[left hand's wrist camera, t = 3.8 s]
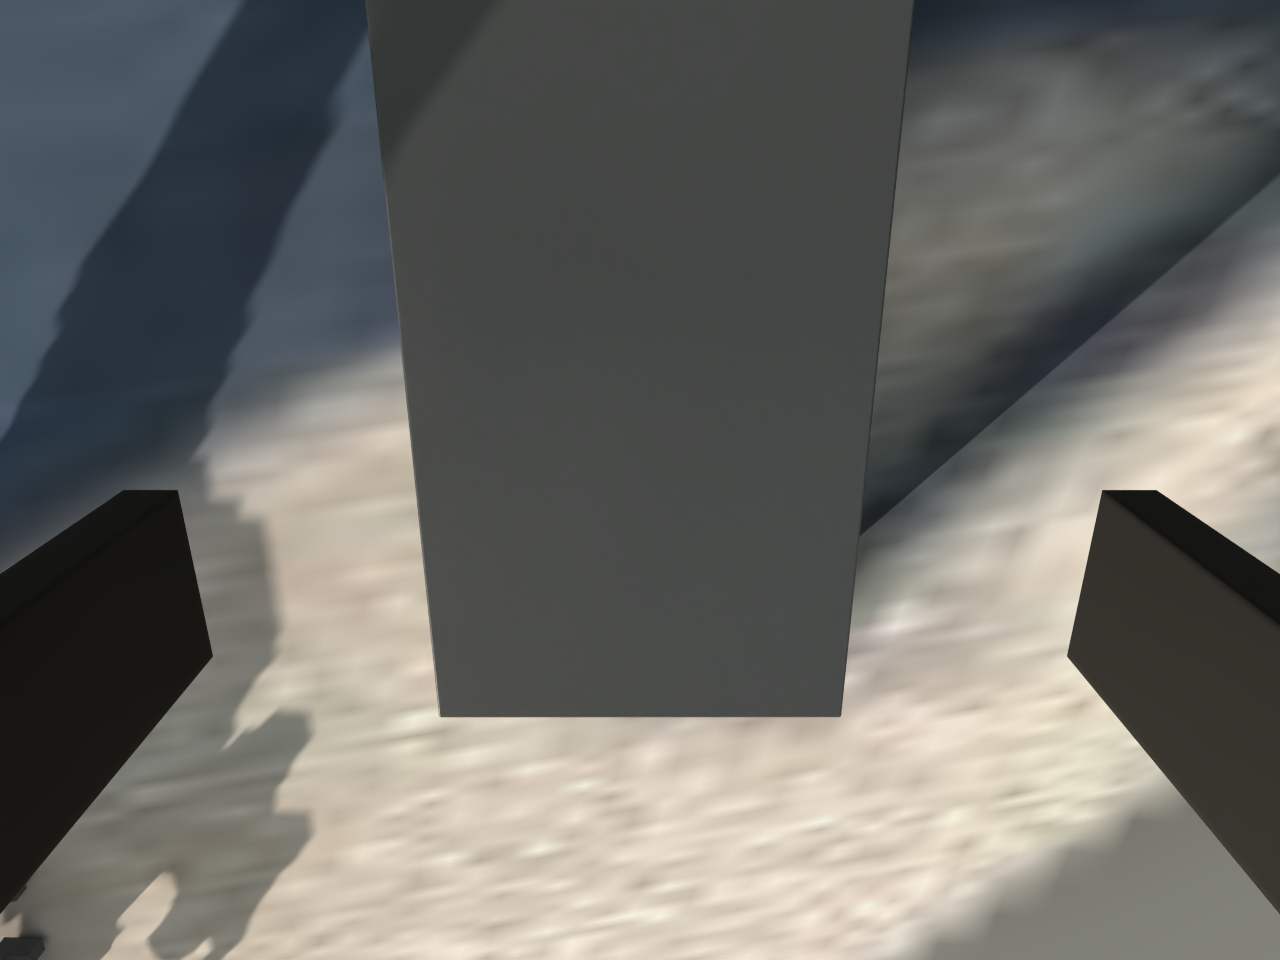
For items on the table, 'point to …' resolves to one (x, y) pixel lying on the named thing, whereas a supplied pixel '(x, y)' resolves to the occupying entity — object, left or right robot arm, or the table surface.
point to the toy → (21, 944)
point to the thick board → (640, 339)
